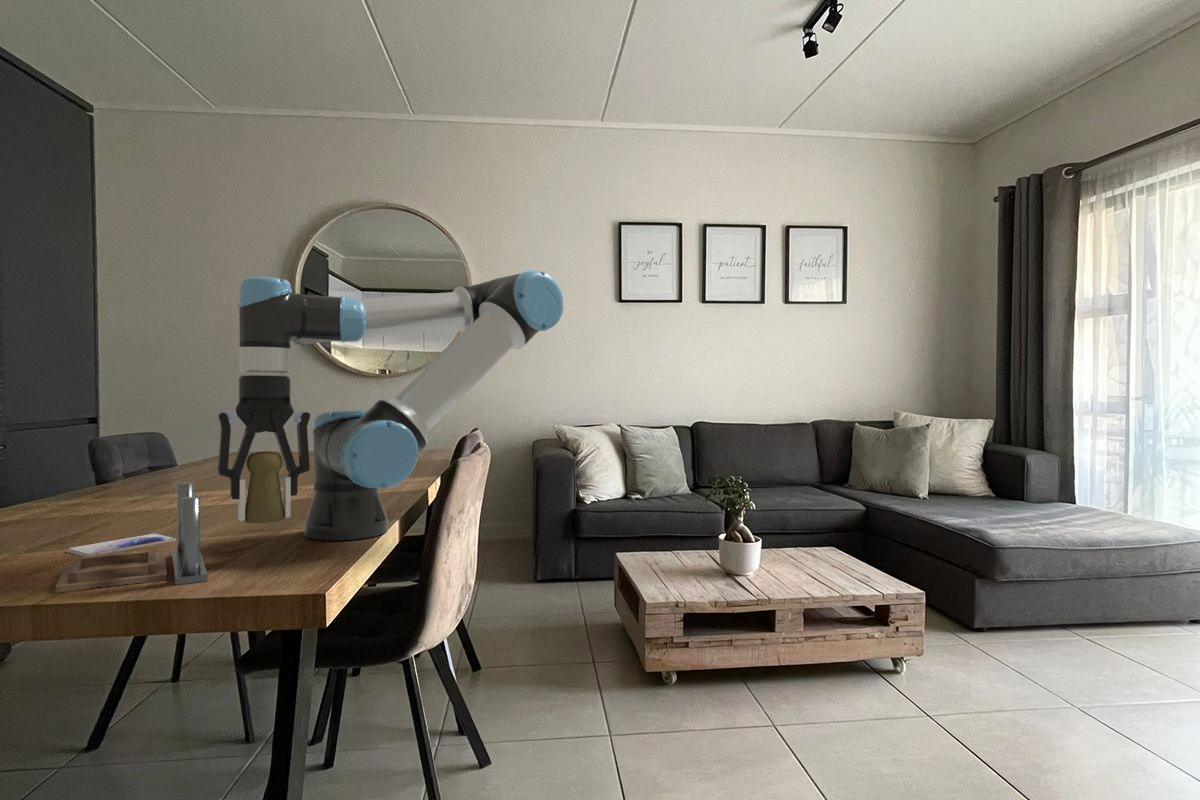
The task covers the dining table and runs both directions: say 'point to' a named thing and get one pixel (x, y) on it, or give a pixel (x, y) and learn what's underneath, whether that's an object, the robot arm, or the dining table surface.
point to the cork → (264, 488)
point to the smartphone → (119, 545)
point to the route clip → (188, 538)
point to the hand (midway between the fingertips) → (264, 517)
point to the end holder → (112, 571)
